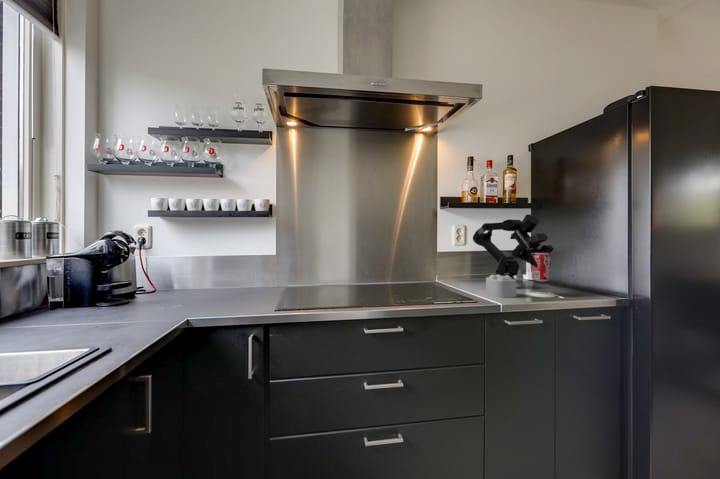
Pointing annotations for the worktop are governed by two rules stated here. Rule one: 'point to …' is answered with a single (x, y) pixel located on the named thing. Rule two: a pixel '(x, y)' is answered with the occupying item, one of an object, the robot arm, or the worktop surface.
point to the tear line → (557, 295)
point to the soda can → (541, 267)
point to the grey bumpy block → (500, 286)
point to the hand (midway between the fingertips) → (543, 265)
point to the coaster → (540, 294)
